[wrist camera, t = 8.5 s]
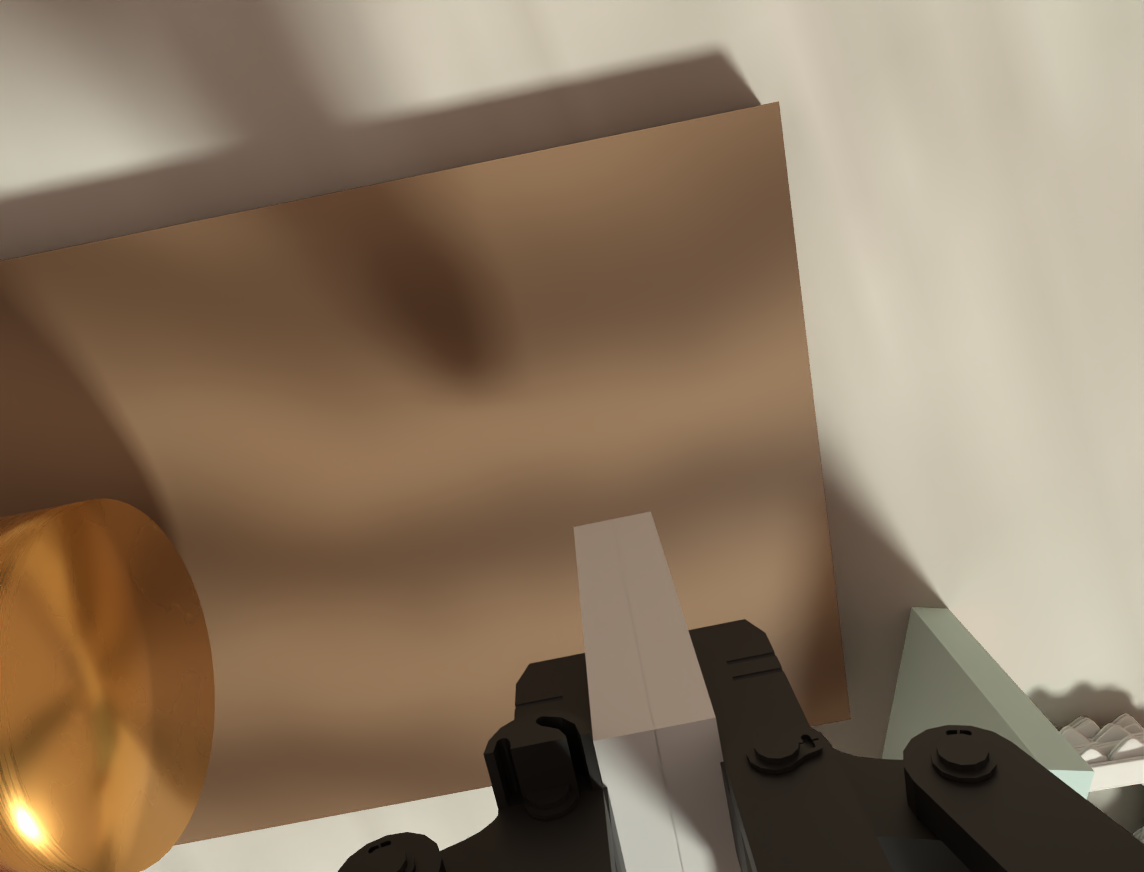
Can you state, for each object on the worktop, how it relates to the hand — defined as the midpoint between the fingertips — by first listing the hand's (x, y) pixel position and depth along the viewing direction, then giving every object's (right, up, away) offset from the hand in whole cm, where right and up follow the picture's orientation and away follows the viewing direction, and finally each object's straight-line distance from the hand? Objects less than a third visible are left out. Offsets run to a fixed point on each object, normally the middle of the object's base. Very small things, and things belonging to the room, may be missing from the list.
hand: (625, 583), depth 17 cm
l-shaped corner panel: (+14, -8, +11) cm, 19 cm away
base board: (-12, 0, +7) cm, 13 cm away
